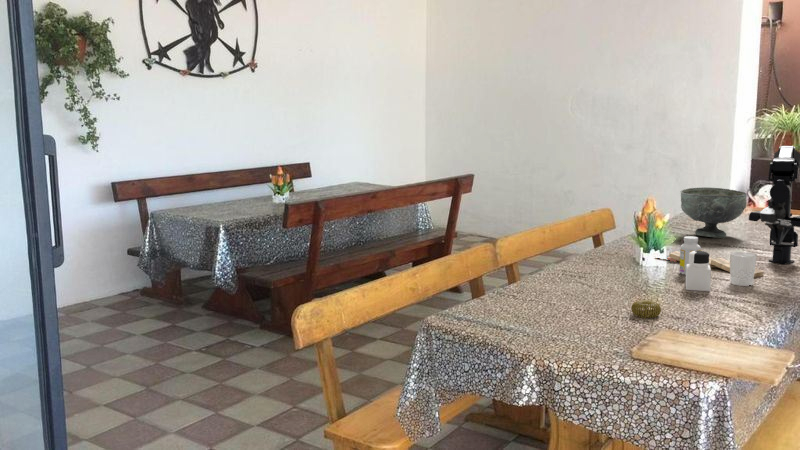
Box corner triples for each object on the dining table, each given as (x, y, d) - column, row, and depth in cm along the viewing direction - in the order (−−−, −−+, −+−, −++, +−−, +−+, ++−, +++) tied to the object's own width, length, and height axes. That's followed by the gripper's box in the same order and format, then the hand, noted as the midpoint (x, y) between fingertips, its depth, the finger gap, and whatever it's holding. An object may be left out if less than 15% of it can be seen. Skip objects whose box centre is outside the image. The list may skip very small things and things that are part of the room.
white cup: (757, 287, 238) (759, 256, 236) (731, 286, 240) (733, 256, 238) (751, 281, 246) (753, 251, 244) (726, 280, 247) (727, 251, 246)
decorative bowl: (748, 233, 329) (751, 188, 325) (739, 243, 307) (742, 195, 304) (686, 229, 343) (688, 186, 339) (673, 238, 321) (675, 192, 318)
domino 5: (762, 275, 253) (740, 266, 260) (764, 271, 252) (741, 261, 259) (753, 277, 250) (730, 267, 257) (754, 273, 250) (731, 263, 257)
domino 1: (697, 262, 274) (675, 255, 281) (698, 258, 274) (676, 251, 280) (690, 264, 271) (668, 257, 278) (691, 260, 271) (669, 253, 277)
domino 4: (741, 271, 260) (719, 261, 267) (742, 267, 259) (720, 257, 266) (731, 273, 257) (710, 263, 264) (732, 268, 257) (711, 259, 264)
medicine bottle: (708, 286, 240) (710, 250, 238) (710, 291, 234) (712, 254, 232) (685, 284, 243) (686, 249, 241) (686, 290, 236) (687, 253, 234)
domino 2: (683, 261, 279) (662, 258, 286) (683, 257, 279) (662, 253, 286) (675, 263, 276) (654, 259, 283) (675, 259, 276) (654, 255, 283)
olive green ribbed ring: (648, 297, 215) (667, 304, 207) (647, 310, 215) (666, 317, 208) (625, 300, 212) (644, 307, 204) (625, 314, 212) (643, 321, 205)
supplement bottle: (702, 273, 258) (704, 237, 256) (695, 276, 253) (697, 239, 251) (683, 270, 263) (685, 234, 260) (676, 274, 258) (677, 237, 256)
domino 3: (720, 267, 266) (702, 258, 274) (721, 262, 266) (703, 254, 274) (709, 267, 265) (691, 259, 273) (710, 263, 264) (692, 254, 272)
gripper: (740, 197, 245) (737, 243, 248) (795, 203, 230) (792, 252, 232) (759, 194, 251) (757, 239, 254) (815, 199, 235) (811, 247, 238)
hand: (778, 244), depth 244 cm, fingers closed
